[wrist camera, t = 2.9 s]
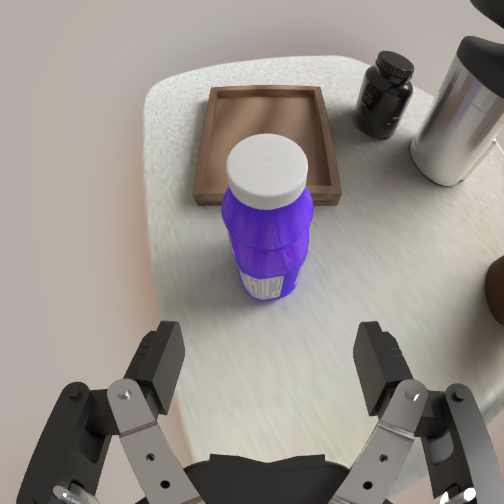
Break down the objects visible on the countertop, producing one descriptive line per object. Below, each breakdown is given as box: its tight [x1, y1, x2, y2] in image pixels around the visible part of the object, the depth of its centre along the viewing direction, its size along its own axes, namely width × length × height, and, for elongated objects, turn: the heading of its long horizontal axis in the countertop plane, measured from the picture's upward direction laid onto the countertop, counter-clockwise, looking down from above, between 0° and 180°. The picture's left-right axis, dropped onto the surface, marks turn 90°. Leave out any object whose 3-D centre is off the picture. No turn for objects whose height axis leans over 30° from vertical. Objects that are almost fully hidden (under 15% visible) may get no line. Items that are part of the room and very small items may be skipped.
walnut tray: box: [193, 85, 341, 205], centre depth 34 cm, size 16×19×2 cm
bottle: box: [221, 134, 313, 301], centre depth 22 cm, size 7×6×17 cm
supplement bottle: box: [353, 51, 414, 138], centre depth 31 cm, size 7×7×12 cm
